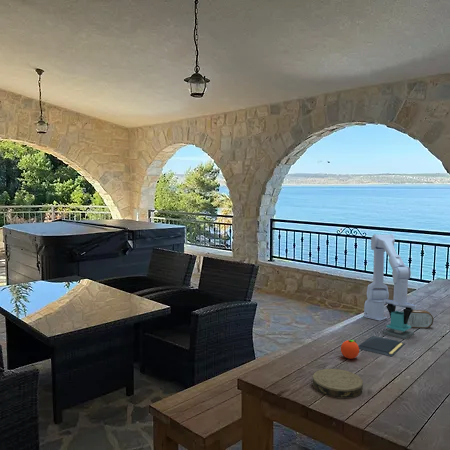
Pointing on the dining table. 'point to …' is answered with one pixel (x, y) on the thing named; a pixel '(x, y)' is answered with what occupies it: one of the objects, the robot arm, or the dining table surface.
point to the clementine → (350, 349)
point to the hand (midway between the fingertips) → (399, 322)
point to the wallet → (381, 346)
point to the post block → (398, 333)
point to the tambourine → (337, 383)
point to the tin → (420, 319)
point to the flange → (398, 321)
